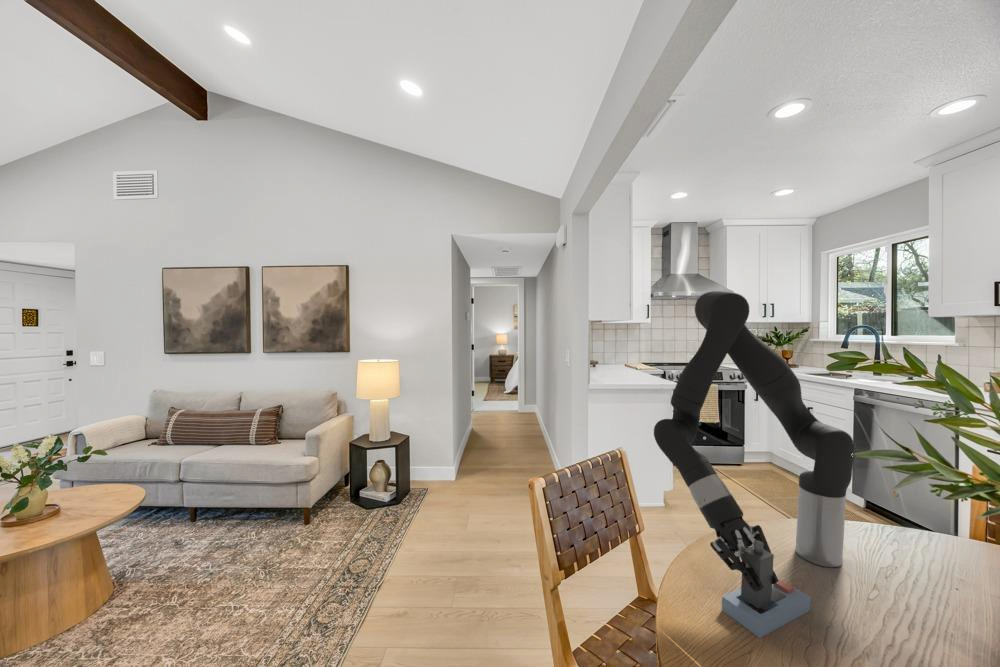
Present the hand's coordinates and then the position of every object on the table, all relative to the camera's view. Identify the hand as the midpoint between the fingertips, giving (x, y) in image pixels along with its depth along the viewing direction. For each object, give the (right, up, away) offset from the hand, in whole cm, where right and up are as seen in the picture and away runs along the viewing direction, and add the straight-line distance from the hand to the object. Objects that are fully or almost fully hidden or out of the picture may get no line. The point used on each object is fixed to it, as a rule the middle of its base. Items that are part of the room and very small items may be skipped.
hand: (766, 586), depth 83 cm
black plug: (-1, -4, +2) cm, 5 cm away
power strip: (+2, -7, +4) cm, 8 cm away
